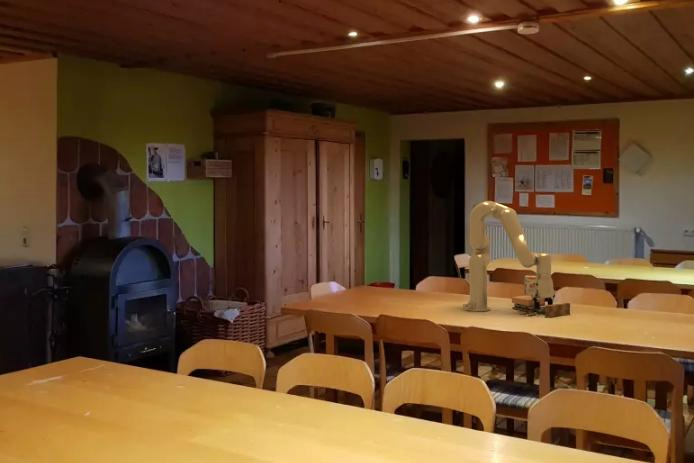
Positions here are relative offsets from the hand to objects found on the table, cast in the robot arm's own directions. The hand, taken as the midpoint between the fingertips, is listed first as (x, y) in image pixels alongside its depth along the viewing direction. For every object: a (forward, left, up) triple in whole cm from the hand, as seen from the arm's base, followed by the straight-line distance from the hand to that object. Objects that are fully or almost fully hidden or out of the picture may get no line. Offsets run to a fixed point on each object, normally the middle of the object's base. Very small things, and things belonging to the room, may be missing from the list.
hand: (543, 308), depth 382 cm
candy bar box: (+14, +21, -3) cm, 25 cm away
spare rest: (-11, 0, -2) cm, 11 cm away
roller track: (0, +7, -2) cm, 7 cm away
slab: (0, +12, +1) cm, 12 cm away
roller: (0, 0, -3) cm, 3 cm away
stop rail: (0, -10, -2) cm, 10 cm away
